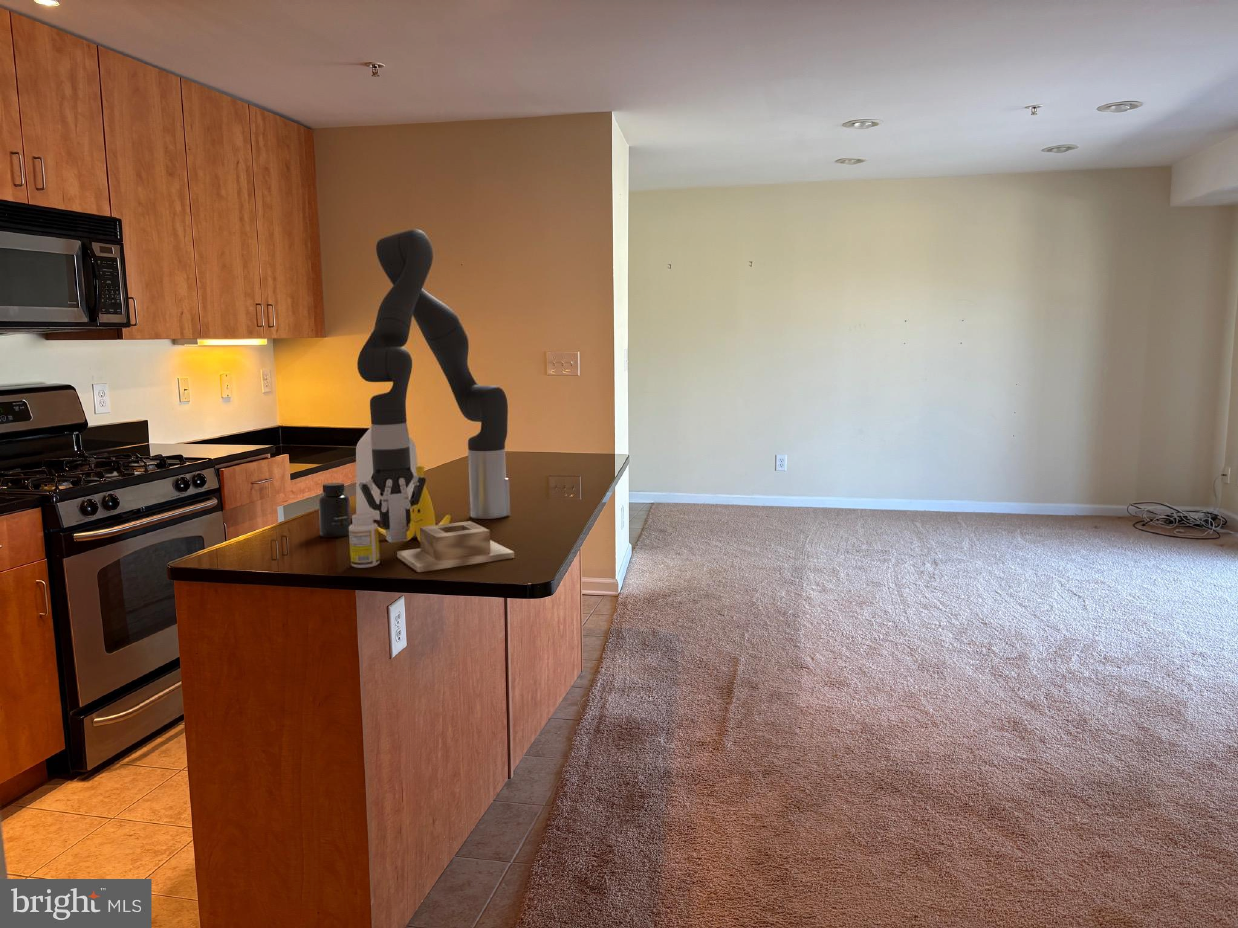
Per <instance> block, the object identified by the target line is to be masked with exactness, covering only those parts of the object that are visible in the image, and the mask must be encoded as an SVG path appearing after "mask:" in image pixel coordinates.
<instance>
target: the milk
mask: <svg viewBox="0 0 1238 928" xmlns="http://www.w3.org/2000/svg"><path fill="white" fill-rule="evenodd" d="M409 439H410V444H409V447H410V463H411V471H412V472H413V475H415V476H417V472H416V467H417V466H419V465H418V458H417V447H416V443H415V441H414V440H413V439H412V438H411V437H410V436H409ZM372 474H373V462H372V447H371V426H370V427H369V428H368V430H367V431H366V432H365V433H364V434H363V435H362V437H360V439H359V441H358V442H357V444H356V447H355V479H356V481H355V483H356V484H355V490H356V491H355V492H356V493H355V494H356V495H355V497H356V498H355V506H356V508H355V509H356V510H355V511H356V512H355V514H358V513H371V514H373V521H374V520H376V521H380V514H379V511H378V510H373V509H372V508H370V507H369V505H368V503H367V501H366V499H365V497H364V495H363V493H362V491H361V489H360V487H359V484H360V483H361V482H363V483H364V482H366V481H368V480H370V479H371V477H372ZM372 487H373V490H372V491H371V493H372V495H373V497H374V499H375V501H376V503H377V504H379V493H380V490H379V489H378V488H377V487H376V486H375V485H374V484H373V486H372ZM413 489H414V485H413V480H412V481H411V483H410V484H409V486H408V487H407V492H408V495H409V500H410V498H411V495H412V492H413ZM410 511H411V509H410Z"/></svg>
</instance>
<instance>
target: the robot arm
mask: <svg viewBox="0 0 1238 928" xmlns="http://www.w3.org/2000/svg"><path fill="white" fill-rule="evenodd" d="M375 246H376V247H375V251H376V256H377V260H378V263H379V264H380V267H381V268H382V270H383V272H384V273H385V275H386V276H387V278H388V280H389V281H390V283H391V284H392V287H391V288H390V290H389V291H388V292H387V293H386V294H385V296H384V298H383V299H382V301H381V303H380V305H379V307H378V310H377V314H376V318H375V324H374V328H373V330H372V331H371V334H370V335H369V337H368V338H367V340H366V341H365V343H364V345H363V347H362V348H361V350H360V352H359V353H358V357H357V363H356V365H357V366H356V368H357V371H358V374H359V376H360V377H361V379H363V380H364V381H365V382H368V383H392V386H391V388H390V389H389V391H387V392H383V393H379V394H375V395H372V397H370V400H369V413H370V424H371V425H370V427H371V447H372V462H373V474H372V477H371V479H370V480H368V481H366V482H364V483H363V482H361V483H360V484H359V487H360V489H361V491H362V493H363V495H364V497H365V499H366V501H367V503H368V505H369V507H370V508H372V509H373V510H378V511H379V514H380V520H379V524H380V527H382V529H383V530H387V529H389V516H388V512H387V507H388V495H390V494H394V493H404V495H405V511H406V527H408V528H409V525H410V523H411V513H410V509H411V507H412V506H414V505H418V504H419V501H420V498H421V495H422V491H423V488H424V485H425V486H426V481H427V479H426V477H421V476H415V475H413V472H412V471H411V463H410V447H409V444H410V439H409V437H410V436H409V435H410V433H409V429H408V423H407V422H408V420H407V404H406V402H407V396H408V395H407V393H408V387H409V383H410V379H411V375H412V369H413V359H412V356H411V354H410V352H409V351H408V350H407V348H405V347H404V346H406V344H407V342H408V340H409V336H410V331H411V325H412V321H413V319H414V320H415V323H416V325H417V326H418V328H419V330H420V332H421V334H422V336H423V338H424V340H425V342H426V344H427V345H428V347H429V349H430V350H431V352H432V354H433V356H434V357H435V359H436V361H437V363H438V365H439V367H440V369H441V370H442V373H443V374H444V376H445V378H446V380H447V383H448V384H449V385H448V386H449V387H450V390H451V392H452V395H453V397H454V398H455V399H454V400H455V401H456V404H457V407H458V408H459V410H460V413H461V414H462V416H463V417H464V418H465V419H467V420H468V421H471V422H475V423H480V430H479V432H478V433H477V434H476V435H473V436H471V437H469V438H468V440H467V454H468V455H467V456H468V476H469V477H468V478H469V479H468V480H469V483H468V484H469V504H470V508H469V509H470V517H471V518H472V519H479V520H492V519H499V518H504V517H507V516H510V515H511V504H510V480H509V478H508V477H507V475H506V473H507V470H506V468H507V467H506V440H507V437H508V420H509V418H508V416H509V415H508V414H509V410H508V409H509V405H508V398H507V395H506V393H505V391H504V389H502V387H499V386H497V385H482V384H481V385H479V384H478V383H477V381H476V380H475V379H474V377H473V375H472V373H471V370H470V368H469V365H468V364H469V363H468V362H469V361H468V358H469V348H470V345H469V338H468V335H467V333H466V331H465V328H464V326H463V325H462V323H461V321H460V319H459V316H458V315H457V314H456V313H455V311H454V310H453V309H451V308H450V307H449V306H448V305H446V304H445V303H444V302H442V301H441V300H439V299H437V298H436V297H434V296H433V295H432V294H430V293H429V292H427V291H426V290H425V289H424V285H425V283H426V280H427V277H428V275H429V273H430V270H431V267H432V264H433V259H434V250H433V246H432V243H431V241H430V239H429V237H428V235H427V234H426V233H425V232H423V231H422V230H420V229H415V228H414V229H409V230H404V231H401V232H398V233H394V234H391V235H388V236H385V237H382V238H380V239H379V240H377V243H376V245H375ZM412 480H413V485H414V489H413V492H412V495H411V498H410V500H409V495H408V492H407V487H408V486H409V484H410V483H411V481H412ZM373 484H374V485H375V486H376V487H377V488H378V489H379V490H380V493H379V504H377V503H376V501H375V499H374V497H373V495H372V493H371V491H372V490H373V487H372V486H373Z"/></svg>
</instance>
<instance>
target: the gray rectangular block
mask: <svg viewBox="0 0 1238 928" xmlns="http://www.w3.org/2000/svg"><path fill="white" fill-rule="evenodd" d="M387 512H388V516H389V529H387V530H386V536H385V538H386V539H385V540H387V541H388V542H389V543H398V542H407V541H406V540H407V532H408V531H407V529H408V528H407V527H406V511H405V495H404V493H394V494H390V495H388V507H387Z"/></svg>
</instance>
